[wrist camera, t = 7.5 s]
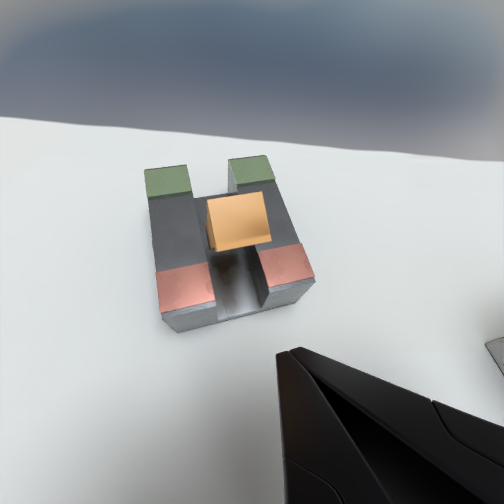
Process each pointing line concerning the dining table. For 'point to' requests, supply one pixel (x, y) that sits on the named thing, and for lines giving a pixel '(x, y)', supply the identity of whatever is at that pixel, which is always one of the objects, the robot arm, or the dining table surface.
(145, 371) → the dining table surface
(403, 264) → the dining table surface
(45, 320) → the dining table surface
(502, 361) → the coffee box
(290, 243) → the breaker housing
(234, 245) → the breaker handle
